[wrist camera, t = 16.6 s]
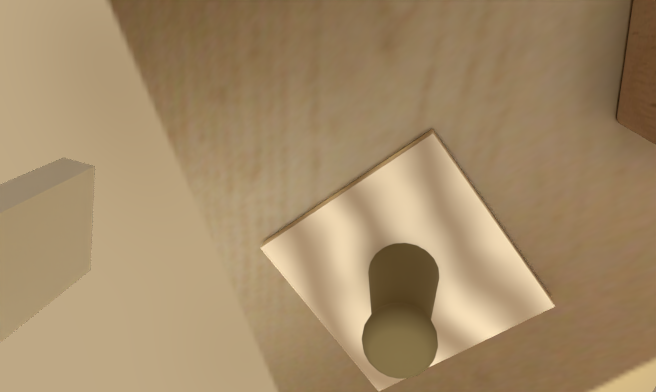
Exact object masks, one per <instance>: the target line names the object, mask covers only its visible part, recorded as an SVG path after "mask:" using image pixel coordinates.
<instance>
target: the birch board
mask: <svg viewBox="0 0 656 392" xmlns="http://www.w3.org/2000/svg"><path fill="white" fill-rule="evenodd" d="M395 243H409V244H413V245H417V246H419V247H421V248H423V249H424V250H426V251H427V252H428V253H429V254H430V255H431V256H432V257H433V258H434V259H435V262H436V264H437V266H438V268H439V282H438V287H437V292H436V297H435V302H434V307H433V312H432V318H431V321H432V323H433V325H434V327H435V329H436V331H437V339H438V349H437V352H436V356H435V359H434V361H433V362H432V364H431V365H430V366H432V365H435V364H437V363H439V362H441V361H443V360H445V359H447V358H449V357H451V356H453V355H455V354H457V353H459V352H461V351H464V350H466V349H468V348H470V347H472V346H474V345H476V344H478V343H480V342H482V341H484V340H486V339H488V338H490V337H493V336H495V335H497V334H499V333H501V332H503V331H505V330H507V329H509V328H511V327H513V326H515V325H517V324H519V323H522V322H524V321H526V320H528V319H530V318H532V317H534V316H536V315H538V314H540V313H542V312H544V311H546V310H548V309H550V308H553V307H555V305H554V303H553V301H552V299H551V297H550V295H549V294H548V292H547V291H546V290H545V288H544V287H543V285H542V284H541V282H540V281H539V280H538V278H537V277H536V275H535V274H534V272H533V271H532V270H531V268H530V267H529V265H528V264H527V262H526V261H525V260H524V258H523V257H522V255H521V254H520V252H519V251H518V250H517V248H516V247H515V245H514V244H513V243H512V241H511V240H510V238H509V237H508V235H507V234H506V233H505V231H504V230H503V228H502V227H501V225H500V224H499V223H498V221H497V220H496V218H495V217H494V215H493V214H492V213H491V211H490V210H489V208H488V207H487V206H486V204H485V203H484V201H483V200H482V198H481V197H480V196H479V194H478V193H477V191H476V190H475V188H474V187H473V186H472V184H471V183H470V181H469V180H468V178H467V177H466V176H465V174H464V173H463V171H462V170H461V168H460V167H459V166H458V164H457V163H456V161H455V160H454V159H453V157H452V156H451V154H450V153H449V151H448V150H447V149H446V147H445V146H444V144H443V143H442V141H441V140H440V139H439V137H438V136H437V134H436V133H435V131H434V130H433V129H432V130H430V131H429V132H427V133H426V134H424V135H423V136H421V137H420V138H418V139H417V140H415V141H414V142H412V143H411V144H409V145H408V146H406V147H405V148H403V149H402V150H400V151H399V152H397V153H396V154H394V155H393V156H391V157H390V158H388V159H387V160H385V161H384V162H382V163H381V164H379V165H378V166H376V167H375V168H373V169H372V170H370V171H369V172H367V173H366V174H364V175H363V176H361V177H360V178H358V179H357V180H355V181H354V182H352V183H351V184H349V185H348V186H346V187H345V188H343V189H342V190H340V191H339V192H337V193H336V194H334V195H333V196H331V197H330V198H328V199H327V200H325V201H324V202H322V203H321V204H319V205H318V206H316V207H315V208H313V209H312V210H310V211H309V212H307V213H306V214H304V215H303V216H301V217H300V218H298V219H297V220H295V221H294V222H292V223H291V224H289V225H288V226H286V227H285V228H284V229H282V230H281V231H279V232H278V233H276V234H275V235H273V236H272V237H270V238H269V239H267V240H266V241H265V242H264V243H263V245H262V246H261V250H262V251H263V252H264V253H265V254H266V256H267V257H268V258H269V259H270V260H271V262H272V263H273V264H274V265H275V267H276V268H277V269H278V270H279V271H280V273H281V274H282V275H283V276H284V277H285V279H286V280H287V281H288V282H289V284H290V285H291V286H292V287H293V288H294V290H295V291H296V292H297V293H298V294H299V296H300V297H301V298H302V299H303V300H304V302H305V303H306V304H307V305H308V307H309V308H310V309H311V310H312V311H313V313H314V314H315V315H316V316H317V317H318V319H319V320H320V321H321V322H322V324H323V325H324V326H325V327H326V328H327V330H328V331H329V332H330V333H331V334H332V336H333V337H334V338H335V339H336V341H337V342H338V343H339V344H340V345H341V347H342V348H343V349H344V350H345V351H346V353H347V354H348V355H349V356H350V358H351V359H352V360H353V361H354V362H355V364H356V365H357V366H358V367H359V368H360V370H361V371H362V372H363V373H364V374H365V376H366V377H367V378H368V379H369V381H370V382H371V383H372V384H373V385H374V387H375V388H376V389H377V390H378V391H381V390H383V389H385V388H387V387H389V386H391V385H393V384H395V383H397V382H399V381H401V380H403V379H397V378H393V377H388V376H386V375H384V374H382V373H380V372H379V371H378V370H376V369H375V368H374V367H373V366H372V365H371V364H370V363H369V361H368V359H367V358H366V356H365V354H364V350H363V345H362V334H363V329H364V325H365V323H366V321H367V320H368V318H369V317H370V315H371V303H370V289H369V275H368V271H369V266H370V262H371V260H372V259H373V257H374V256H375V254H376V253H377V252H379V251H380V250H381V249H382V248H384V247H386V246H389V245H392V244H395ZM430 366H429V367H430Z"/></svg>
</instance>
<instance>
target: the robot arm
mask: <svg viewBox="0 0 656 392" xmlns="http://www.w3.org/2000/svg"><path fill="white" fill-rule="evenodd" d="M94 175H95V166H92V165H89V164H85V163H81V162H78V161H73V160H71V159H66V158H61V159H59V160H56V161H54V162H52V163H49V164H47V165H45V166H42V167H40V168H38V169H35V170H33V171H31V172H28V173H26V174H24V175H21V176H19V177H17V178H14V179H12V180H10V181H7V182H5V183H3V184H0V342H2V341H3V340H4V339H6V338H7V337H8V336H9V335H10V334H12V333H13V332H14V331H15V330H17V329H18V328H19V327H20V326H22V325H23V324H24V323H25V322H27V321H28V320H29V319H30V318H32V317H33V316H34V315H35V314H37V313H38V312H39V311H40V310H42V309H43V308H44V307H45V306H46V305H48V304H49V303H50V302H51V301H53V300H54V299H55V298H56V297H58V296H59V295H60V294H61V293H63V292H64V291H65V290H66V289H68V288H69V287H70V286H71V285H72V284H74V283H75V282H76V281H77V280H79V279H80V278H81V277H82V276H84V275H85V274H86V273H88V272H89V271H90V269H91V243H92V222H93V198H94ZM653 392H656V387H655V389H654V391H653Z"/></svg>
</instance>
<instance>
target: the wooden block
mask: <svg viewBox="0 0 656 392" xmlns="http://www.w3.org/2000/svg"><path fill="white" fill-rule="evenodd" d="M617 120H618V123H620V124H622V125H624V126H625V127H627V128H629V129H630V130H632V131H634V132H635V133H637V134H639V135H640V136H642V137H644V138H646V139H647V140H649V141H651V142H652V143H654V144H656V0H633V7H632V14H631V21H630V28H629V35H628V42H627V49H626V57H625V64H624V71H623V78H622V85H621V92H620V99H619V106H618V113H617Z"/></svg>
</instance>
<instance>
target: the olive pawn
mask: <svg viewBox="0 0 656 392" xmlns="http://www.w3.org/2000/svg"><path fill="white" fill-rule="evenodd" d="M368 275H369V289H370V303H371V315H370V317H369V318H368V320H367V321H366V323H365V325H364V329H363V334H362V345H363V350H364V354H365V356H366V358H367V359H368V361H369V363H370V364H371V365H372V366H373V367H374V368H375V369H376V370H378V371H379V372H380V373H382V374H384V375H386V376H388V377H393V378H397V379H407V378H411V377H414V376H417V375H419V374H420V373H422V372H423V371H425V370H426V369H428V367H429V366H430V365H431V364H432V362H433V361H434V359H435V356H436V352H437V349H438V339H437V331H436V329H435V327H434V325H433V323H432V321H431V318H432V312H433V307H434V302H435V297H436V292H437V287H438V282H439V268H438V266H437V264H436V262H435V259H434V258H433V257H432V256H431V255H430V254H429V253H428V252H427V251H426V250H424V249H423V248H421V247H419V246H417V245H413V244H409V243H395V244H392V245H389V246H386V247H384V248H382V249H381V250H380V251H379V252H377V253H376V254H375V256H374V257H373V259H372V260H371V262H370V266H369V271H368Z"/></svg>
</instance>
